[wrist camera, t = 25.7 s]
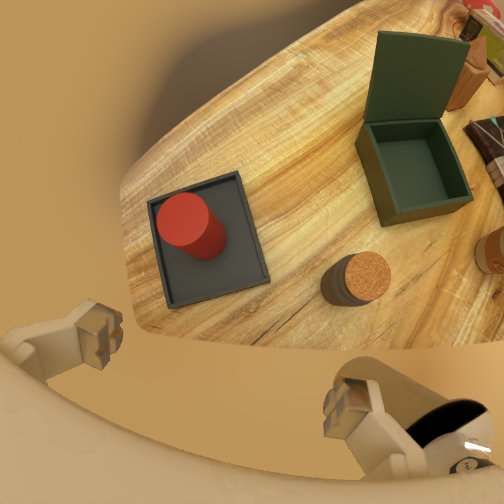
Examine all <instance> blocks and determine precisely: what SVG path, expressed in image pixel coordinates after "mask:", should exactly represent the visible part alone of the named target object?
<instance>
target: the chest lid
mask: <svg viewBox="0 0 504 504" xmlns="http://www.w3.org/2000/svg"><path fill="white" fill-rule="evenodd" d="M470 47H471V45H470V44H469V43H468V42H465V41H460V40H455V39H449V38H444V37H437V36H431V35H425V34H417V33H408V32H393V31H378V36H377V43H376V50H375V56H374V63H373V69H372V74H371V80H370V86H369V91H368V96H367V101H366V106H365V111H364V116H363V119H364V121H365V122H368V121H380V120H393V119H410V118H441V117H442V116H443V113H444V111H445V109H446V107H447V104H448V102H449V100H450V98H451V95H452V93H453V91H454V88H455V86H456V83H457V81H458V78H459V76H460V73H461V71H462V68H463V66H464V63H465V61H466V58H467V55H468V52H469V50H470Z"/></svg>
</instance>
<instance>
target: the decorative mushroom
mask: <svg viewBox="0 0 504 504" xmlns="http://www.w3.org/2000/svg"><path fill="white" fill-rule="evenodd" d="M462 2H463V5H464V6H465V7H466V8H467V9H468V10H469V12H468V13H467V15H466V17H465V19H466V21H467V19H468V17H469V15H470V13H471V11H472V9H487V10H488V11H489V12H490V13H491V14H493V15H494V16H495V17H496V18H497V19H498V20H501V16H500V12H499V9H498V8H497V6H496V4H495V3H494V2H493V1H492V0H462Z"/></svg>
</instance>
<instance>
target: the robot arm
mask: <svg viewBox="0 0 504 504" xmlns="http://www.w3.org/2000/svg"><path fill="white" fill-rule="evenodd" d="M122 321H123V320H122V313H121V312H119V311H117V310H114V309H111V308H110V307H107V306H105V305H103V304H101V303H98V302H96V301H93V300H91V299H85V300H84V301H83V302H82V303H81V304H79V305H78V306H77V307H76V308H75V309H74V310H73V311H72V312H70V313H69V314H68V315H67V316H66V317H65V318H64V319H62V318H57V319H52V320H48V321H44V322H40V323H35V324H31V325H27V326H22V327H18V328H14V329H10V330H9V331H8V332H7V333H6V334H4V335H3V336H2V337H1V338H0V504H504V469H503V468H502V467H500V466H498V465H495V464H494V463H493V462H490V461H491V458H490V456H489V455H488V454H487V453H486V452H485V451H484V450H486V451H490V450H489V449H487V448H484V447H480V446H479V445H480V441H479V440H478V439H476V438H468V437H467V436H465V435H464V434H462V433H459V432H452V433H447V434H444V435H442V436H440V437H438V438H436V439H435V440H433V441H432V442H430V443H429V444H428V445H426V446H425V447H424V448H423V449H422V448H421V447H420V446H419V445H418V444H417V443H416V442H415V441H414V440H413V439H412V438H411V437H410V436H409V435H408V433H407V432H406V431H405V430H404V429H403V428H402V427H401V426H400V425H399V424H398V423H397V422H396V421H395V420H394V419H393V418H392V416H391V415H390V414H389V413H385V409H384V405H383V401H382V396H381V392H380V388H379V384H378V382H377V381H373V380H366V379H358V378H352V377H346V376H339V377H338V378H337V379H336V381H335V382H334V384H335V388H333V389H331V390H329V392H328V394H327V395H326V398H325V401H324V406H323V413H324V415H325V416H326V417H327V419H326V420H325V422H324V437H330V438H336V439H344V440H345V442H346V444H347V445H348V447H349V449H350V450H351V452H352V453H353V455H354V457H355V458H356V460H357V462H358V463H359V464H360V466H361V468H362V469H363V471H364V473H365V474H366V476H364V477H363V478H362V479H361V480H336V479H321V478H310V477H302V476H293V475H286V474H280V473H273V472H267V471H262V470H256V469H252V468H247V467H242V466H238V465H233V464H229V463H225V462H221V461H217V460H213V459H210V458H206V457H203V456H200V455H196V454H193V453H190V452H187V451H184V450H181V449H178V448H175V447H172V446H169V445H166V444H163V443H160V442H158V441H155V440H153V439H150V438H148V437H145V436H143V435H140V434H138V433H135V432H133V431H131V430H129V429H126V428H124V427H122V426H120V425H117V424H115V423H113V422H111V421H109V420H107V419H105V418H103V417H101V416H99V415H97V414H95V413H93V412H91V411H89V410H87V409H85V408H83V407H82V406H80V405H78V404H76V403H74V402H73V401H71V400H69V399H67V398H66V397H64V396H62V395H61V394H59V393H57V392H56V391H54V390H52V389H51V388H49V387H48V384H47V381H46V380H47V379H49V378H51V377H54V376H56V375H58V374H61V373H62V372H65V371H67V370H69V369H72V368H74V367H76V366H79V365H81V364H83V362H84V363H86V364H88V365H90V366H92V367H94V368H97V369H99V370H103V369H104V367H105V366H106V364H107V363H108V362H109V361H110V354H113V353H116V351H117V350H118V349H119V347H120V345H121V342H122V338H123V330H122V328H121V327H120V324H121V323H122Z"/></svg>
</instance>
